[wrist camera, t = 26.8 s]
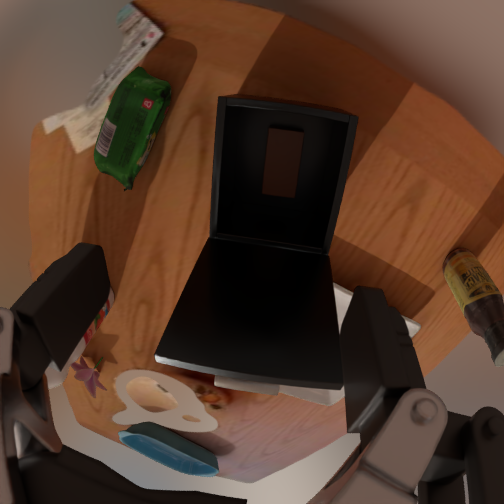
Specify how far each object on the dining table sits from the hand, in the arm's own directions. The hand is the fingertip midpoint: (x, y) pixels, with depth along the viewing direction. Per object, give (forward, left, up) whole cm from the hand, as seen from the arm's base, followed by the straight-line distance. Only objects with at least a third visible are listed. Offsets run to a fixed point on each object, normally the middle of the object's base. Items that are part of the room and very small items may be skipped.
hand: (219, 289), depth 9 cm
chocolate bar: (+3, +1, -30) cm, 30 cm away
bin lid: (+10, +1, -12) cm, 16 cm away
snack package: (0, -18, -31) cm, 35 cm away
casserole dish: (+95, -20, -31) cm, 102 cm away
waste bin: (+3, +1, -30) cm, 30 cm away
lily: (+55, -37, -31) cm, 73 cm away
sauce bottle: (+13, +31, -31) cm, 46 cm away
